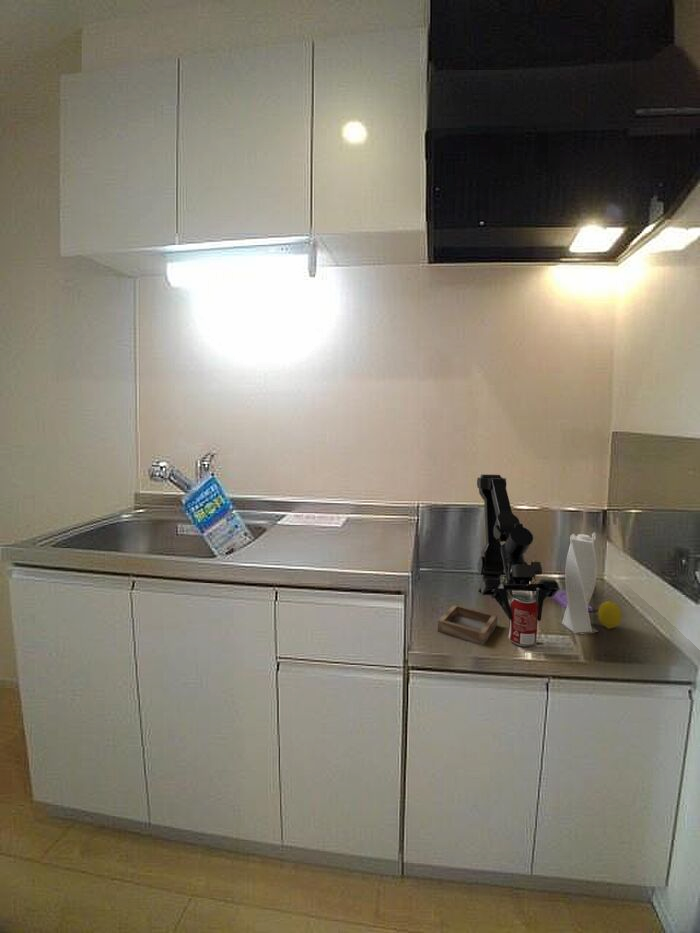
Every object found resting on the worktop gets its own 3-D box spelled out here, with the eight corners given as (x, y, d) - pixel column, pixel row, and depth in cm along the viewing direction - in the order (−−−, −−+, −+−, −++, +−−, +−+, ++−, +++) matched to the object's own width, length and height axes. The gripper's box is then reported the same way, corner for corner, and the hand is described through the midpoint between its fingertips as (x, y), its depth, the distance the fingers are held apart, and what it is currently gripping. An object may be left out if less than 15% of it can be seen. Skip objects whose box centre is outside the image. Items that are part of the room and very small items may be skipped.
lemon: (617, 625, 119) (619, 598, 118) (622, 635, 114) (625, 606, 113) (594, 622, 121) (596, 595, 120) (599, 631, 116) (601, 603, 115)
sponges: (569, 595, 140) (569, 590, 140) (592, 613, 127) (593, 607, 127) (548, 595, 140) (548, 590, 139) (570, 613, 127) (570, 607, 127)
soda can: (538, 650, 106) (541, 604, 105) (510, 647, 108) (512, 601, 106) (532, 636, 113) (535, 593, 111) (506, 633, 114) (508, 590, 113)
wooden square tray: (454, 613, 126) (454, 604, 125) (496, 625, 119) (497, 615, 118) (437, 631, 116) (437, 620, 115) (483, 645, 109) (483, 634, 108)
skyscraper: (601, 635, 114) (610, 533, 110) (574, 637, 112) (582, 534, 109) (580, 620, 122) (587, 525, 119) (554, 622, 121) (560, 526, 117)
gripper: (485, 548, 112) (494, 607, 102) (558, 550, 111) (574, 610, 101) (477, 566, 121) (485, 622, 111) (545, 568, 119) (558, 625, 110)
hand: (525, 620), depth 108 cm, fingers closed on soda can, 7 cm apart
